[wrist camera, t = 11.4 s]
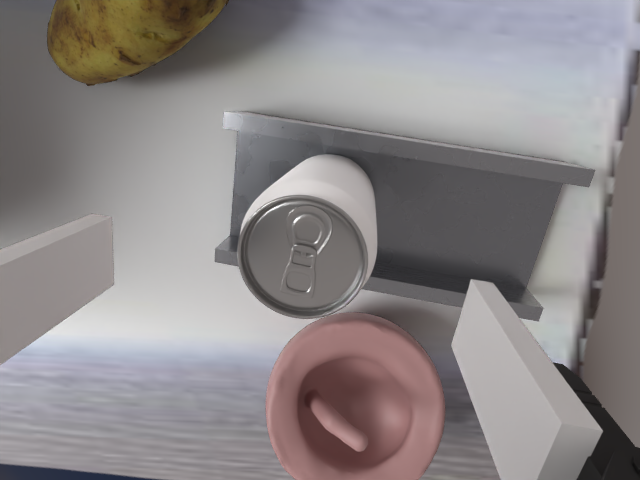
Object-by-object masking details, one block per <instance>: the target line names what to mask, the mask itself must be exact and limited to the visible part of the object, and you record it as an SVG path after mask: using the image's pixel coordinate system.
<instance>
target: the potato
mask: <svg viewBox="0 0 640 480" xmlns="http://www.w3.org/2000/svg"><path fill="white" fill-rule="evenodd" d="M228 2H229V0H57V1H56V3H55V5H54V8H53V11H52V14H51V18H50V21H49V23H48V32H47V45H48V50H49V53H50V55H51V57H52V59H53V60H54V62H55V63H56V65H57V66H58V67H59V68H60V69H61V70H62V71H63V72H64V73H65V74H66V75H68V76H69V77H71V78H72V79H74V80H76V81H79V82H82V83H85V84H86V85H87V86H92V85H95V84H100V83H107V82H112V81H115V80H117V79H118V78H120V77H124V76H134V75H135V74H139V73H140V72H142V71H143V70H145V69H146V68H148V67H150V66H152V65H156V64H157V63H158V62H160V61H161V60H163V59H165V58H168V57H169V56H170V55H172V54H174V53H175V52H177V51H178V50H180V49H181V48H182V47H183V46H185V45H186V44H187V43H188V42H189V41H190V40H191V39H192V38H193V37H195V36H196V35H197V34H198V33H200V32H201V31H202V30H203V29H205V28H206V27H207V26H208V25H209V24H210V23H211V22H212V21H213V20H214V19H215V18H216V16H217V15H218V14H219V13H220V12H221V10H222V9H223V7H224V5H225V3H226V5H227V3H228Z"/></svg>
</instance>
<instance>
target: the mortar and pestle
mask: <svg viewBox="0 0 640 480" xmlns="http://www.w3.org/2000/svg"><path fill="white" fill-rule="evenodd" d="M266 419H267V427H268V432H269V437H270V440H271V444H272V446H273V449H274V451H275V453H276V455H277V457H278V459H279V461H280V463H281V465H282V466H283V468H284V469H285V470H286V471H287V472H288V473H289V474H291V475H292V477H293V478H294V479H295V480H418V479H419V478H420V477H421V476H422V475H423V474H424V472H425V471H426V469H427V468H428V466H429V465H430V463H431V461H432V459H433V457H434V455H435V454H436V452H437V449H438V447H439V444H440V441H441V437H442V434H443V429H444V422H445V399H444V392H443V388H442V384H441V380H440V378H439V375H438V372H437V370H436V368H435V366H434V364H433V362H432V360H431V359H430V357H429V356H428V354H427V353H426V351H425V350H424V349H423V347H422V346H421V345H420V344H419V343H418V342H417V341H416V339H414V338H413V337H412V336H411V335H410V334H409V333H408V332H407V331H405V330H404V329H402V328H401V327H400V326H398V325H396V324H394V323H393V322H391V321H389V320H386V319H384V318H381V317H378V316H375V315H371V314H367V313H358V312H347V313H338V314H334V315H330V316H327V317H324V318H321V319H319V320H317V321H315V322H313V323H311V324H309V325H308V326H306V327H305V328H303V329H302V330H301V331H299V332H298V333H297V334H296V335H295V336H294V337H293V338H292V339H291V340H290V341H289V342H288V344H287V345H286V346H285V347H284V349H283V350H282V352H281V353H280V355H279V357H278V359H277V361H276V362H275V364H274V367H273V370H272V372H271V375H270V378H269V382H268V387H267V393H266Z"/></svg>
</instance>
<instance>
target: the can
mask: <svg viewBox="0 0 640 480" xmlns="http://www.w3.org/2000/svg"><path fill="white" fill-rule="evenodd" d="M376 255H377V223H376V207H375V196H374V190H373V187H372V184H371V181H370V179H369V178H368V176H367V174H366V173H365V172H364V170H363V169H362V168H361V167H360V166H359V165H358V164H356V163H355V162H354V161H352V160H351V159H349V158H346V157H344V156H340V155H333V154H324V155H317V156H313V157H310V158H308V159H306V160H304V161H303V162H301V163H300V164H298V165H297V166H296V167H294V168H293V169H292V170H290V171H289V172H288V173H286V174H285V175H284V176H283V177H281V178H280V179H279V180H277V181H276V182H275V183H274V184H272V185H271V186H270V187H269V188H267V189H266V190H265V191H264V192H263V193H262V194H261V195H260V196H259V197H258V198H257V199H256V200H255V201H254V202H253V204H252V205H251V206H250V208H249V210H248V211H247V213H246V215H245V217H244V220H243V223H242V226H241V231H240V237H239V242H238V249H237V258H238V265H239V269H240V272H241V275H242V278H243V280H244V282H245V284H246V285H247V287H248V288H249V290H250V291H251V292H252V294H253V295H254V296H255V297H256V298H257V299H258V300H259V301H260V302H261V303H263V304H264V305H265V306H267V307H268V308H270V309H272V310H273V311H275V312H278V313H280V314H282V315H285V316H289V317H293V318H300V319H313V318H320V317H324V316H327V315H330V314H333V313H335V312H337V311H339V310H340V309H342V308H343V307H345V306H346V305H347V304H349V303H350V302H351V301H352V300H353V299H354V297H355V296H356V295H357V294H358V292H359V291H360V289H361V288H362V287H363V286H364V285H365V283H366V282H367V280H368V279H369V277H370V275H371V273H372V270H373V268H374V264H375V260H376Z"/></svg>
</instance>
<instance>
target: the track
mask: <svg viewBox="0 0 640 480" xmlns="http://www.w3.org/2000/svg"><path fill="white" fill-rule="evenodd" d="M223 129H229V130H236V131H238V134H237V148H236V162H235V176H234V190H233V203H232V217H231V231H230V236H229V237H228V238H227V239H226V240H224V241H223V242H222V243H221V244H220V245H219V246H218V247H217V248H216V249H215V262H218V263H223V264H229V265H234V266H239V265H238V258H237V249H238V242H239V237H240V231H241V226H242V223H243V220H244V217H245V215H246V213H247V211H248V210H249V208H250V206H251V205H252V204H253V202H254V201H255V200H256V199H257V198H258V197H259V196H260V195H261V194H262V193H263V192H264V191H265V190H266V189H267V188H269V187H270V186H271V185H272V184H274V183H275V182H276V181H277V180H279V179H280V178H281V177H283V176H284V175H285V174H286V173H288V172H289V171H290V170H292V169H293V168H294V167H296V166H297V165H298V164H300V163H301V162H303V161H304V160H306V159H308V158H310V157H313V156H317V155H324V154H333V155H340V156H344V157H346V158H349V159H351V160H352V161H354V162H355V163H356V164H358V165H359V166H360V167H361V168H362V169H363V170H364V172H365V173H366V174H367V176H368V178H369V179H370V181H371V184H372V187H373V190H374V196H375V207H376V223H377V255H376V260H375V264H374V268H373V270H372V273H371V275H370V277H369V279H368V280H367V282H366V283H365V285H364V286H363V287H362V288H361V289H365V290H370V291H376V292H381V293H387V294H392V295H398V296H403V297H409V298H414V299H419V300H425V301H430V302H436V303H441V304H447V305H452V306H458V307H463V304H464V301H465V298H466V294H467V291H468V288H469V284H470V281H471V279H473V280H479V281H485V282H491V283H494V285H495V286H496V287H497V289H498V290H499V292H500V293H501V294H502V296H503V297H504V298H505V300H506V301H507V302H508V304H509V305H510V306H511V308H512V309H513V310H514V312H515V313H516V314H517V316H518V317H519V318H523V319H528V320H534V321H539V319H540V316H541V313H542V311H543V307H542V306H541V305H540V303H539V302H538V301H537V300H536V299H535V298H534V297H533V296H532V294H531V293H530V292H529V291H528V290H527V289H526V287H527V284H528V281H529V278H530V275H531V272H532V270H533V267H534V264H535V261H536V258H537V255H538V253H539V250H540V247H541V244H542V241H543V238H544V236H545V233H546V230H547V227H548V224H549V221H550V219H551V216H552V213H553V210H554V207H555V204H556V202H557V199H558V196H559V193H560V190H561V187H562V185H563V183H567V184H573V185H579V186H585V187H589V186H590V183H591V180H592V178H593V175H594V172H595V170H594V169H590V168H586V167H582V166H578V165H575V164H571V163H567V162H563V161H557V160H551V159H544V158H538V157H531V156H525V155H519V154H512V153H506V152H500V151H493V150H487V149H480V148H474V147H468V146H461V145H455V144H448V143H442V142H436V141H429V140H423V139H417V138H410V137H404V136H397V135H391V134H385V133H378V132H372V131H365V130H359V129H353V128H346V127H340V126H334V125H327V124H321V123H314V122H308V121H302V120H295V119H289V118H282V117H276V116H270V115H263V114H257V113H251V112H244V111H232V112H224V116H223Z"/></svg>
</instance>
